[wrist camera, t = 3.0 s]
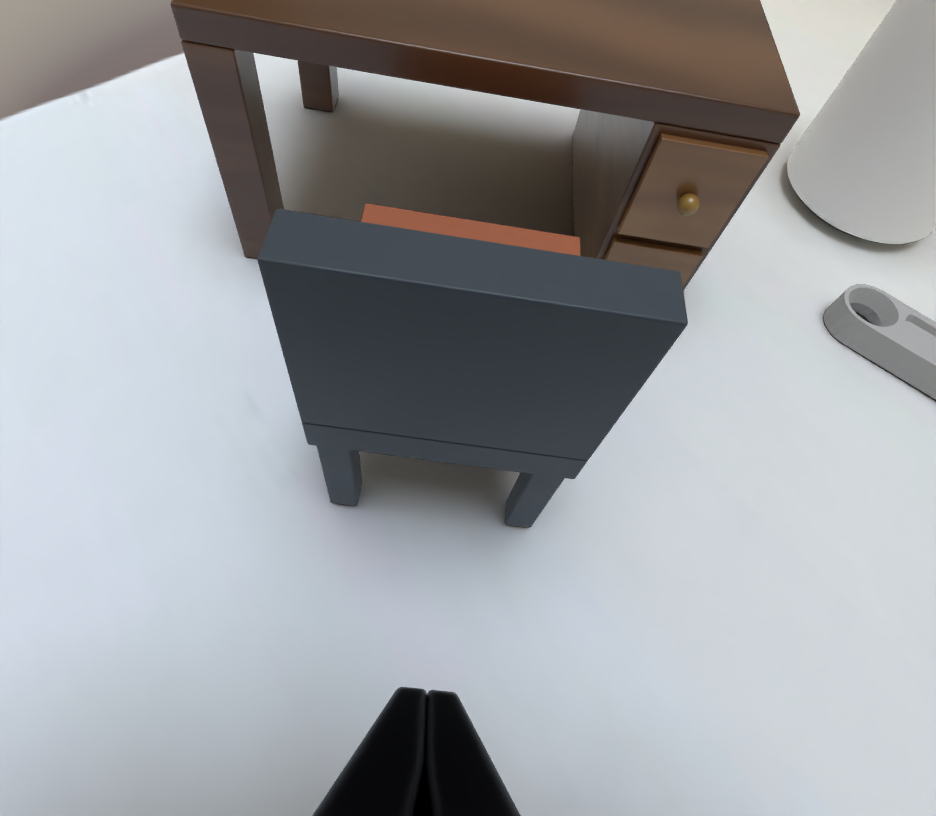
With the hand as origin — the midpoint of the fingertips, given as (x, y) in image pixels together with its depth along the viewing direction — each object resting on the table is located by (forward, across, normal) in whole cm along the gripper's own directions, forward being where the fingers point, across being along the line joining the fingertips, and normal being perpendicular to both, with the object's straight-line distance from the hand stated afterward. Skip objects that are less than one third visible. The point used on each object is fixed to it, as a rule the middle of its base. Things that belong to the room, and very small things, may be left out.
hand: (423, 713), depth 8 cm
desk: (+22, 0, -9) cm, 24 cm away
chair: (+13, 0, 0) cm, 13 cm away
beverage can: (+26, -20, -12) cm, 35 cm away
